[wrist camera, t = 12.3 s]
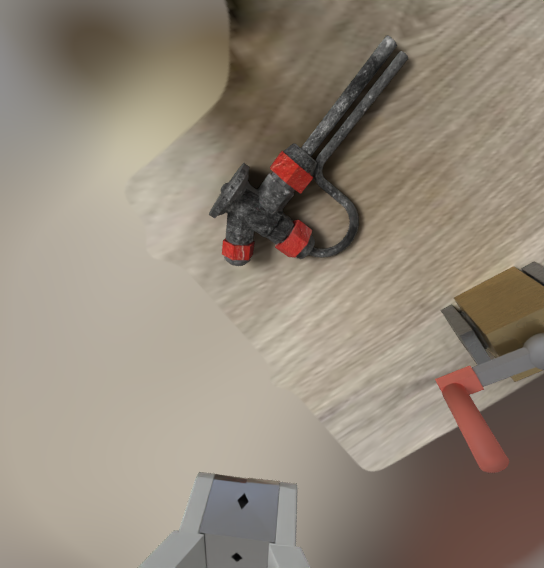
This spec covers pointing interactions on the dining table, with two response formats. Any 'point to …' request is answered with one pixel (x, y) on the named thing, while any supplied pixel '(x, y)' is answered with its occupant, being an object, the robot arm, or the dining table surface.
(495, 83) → the dining table surface
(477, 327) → the lever valve base
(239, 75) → the dining table surface
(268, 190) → the valve
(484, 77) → the dining table surface
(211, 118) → the dining table surface
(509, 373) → the lever
